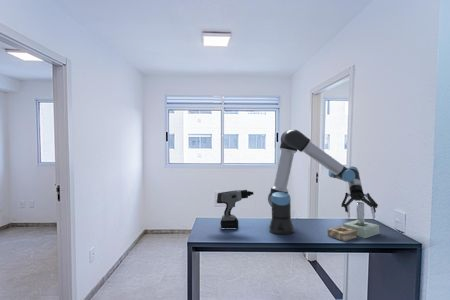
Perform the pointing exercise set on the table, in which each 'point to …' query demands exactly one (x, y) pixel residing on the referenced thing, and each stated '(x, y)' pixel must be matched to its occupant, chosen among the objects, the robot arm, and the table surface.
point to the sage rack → (363, 229)
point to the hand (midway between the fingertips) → (361, 216)
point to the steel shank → (360, 214)
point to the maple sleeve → (342, 233)
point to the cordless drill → (231, 206)
